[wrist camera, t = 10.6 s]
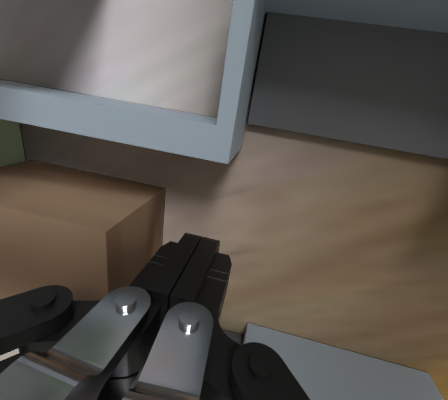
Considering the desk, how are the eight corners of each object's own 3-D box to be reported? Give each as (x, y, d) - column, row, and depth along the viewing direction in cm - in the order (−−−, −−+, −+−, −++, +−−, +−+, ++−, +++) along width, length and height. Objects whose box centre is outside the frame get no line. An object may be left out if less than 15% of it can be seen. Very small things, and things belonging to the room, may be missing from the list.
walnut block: (36, 159, 12) (-86, 185, 8) (167, 186, 11) (105, 232, 7) (48, 243, 14) (-45, 299, 10) (162, 272, 13) (111, 347, 9)
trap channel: (-32, -54, 9) (-164, -123, 6) (686, 18, 6) (995, -49, 4) (39, 326, 17) (-7, 369, 14) (383, 434, 14) (410, 515, 11)
